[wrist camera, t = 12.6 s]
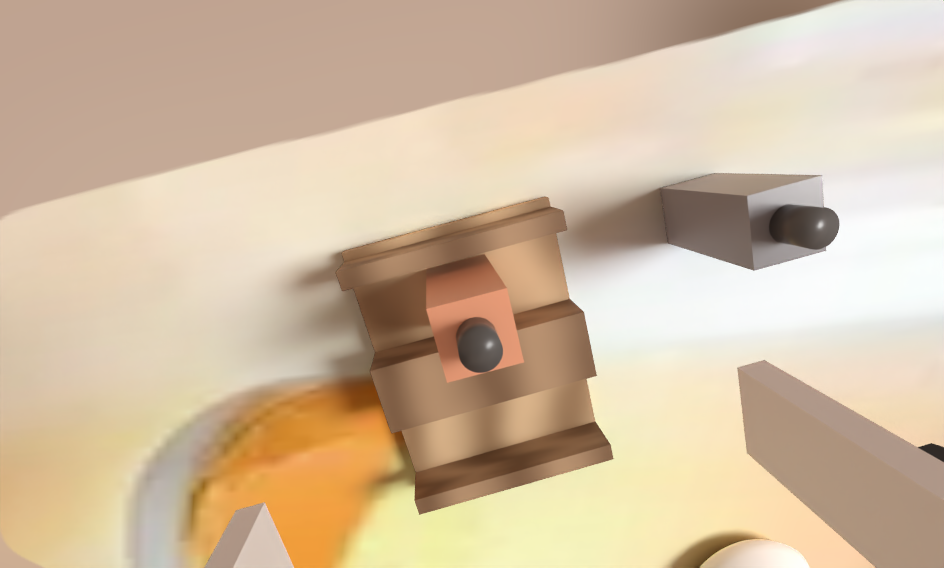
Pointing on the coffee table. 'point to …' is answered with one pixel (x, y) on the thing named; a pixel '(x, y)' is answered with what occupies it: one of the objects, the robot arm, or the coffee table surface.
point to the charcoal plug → (749, 217)
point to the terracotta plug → (471, 318)
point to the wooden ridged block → (492, 393)
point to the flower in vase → (756, 556)
